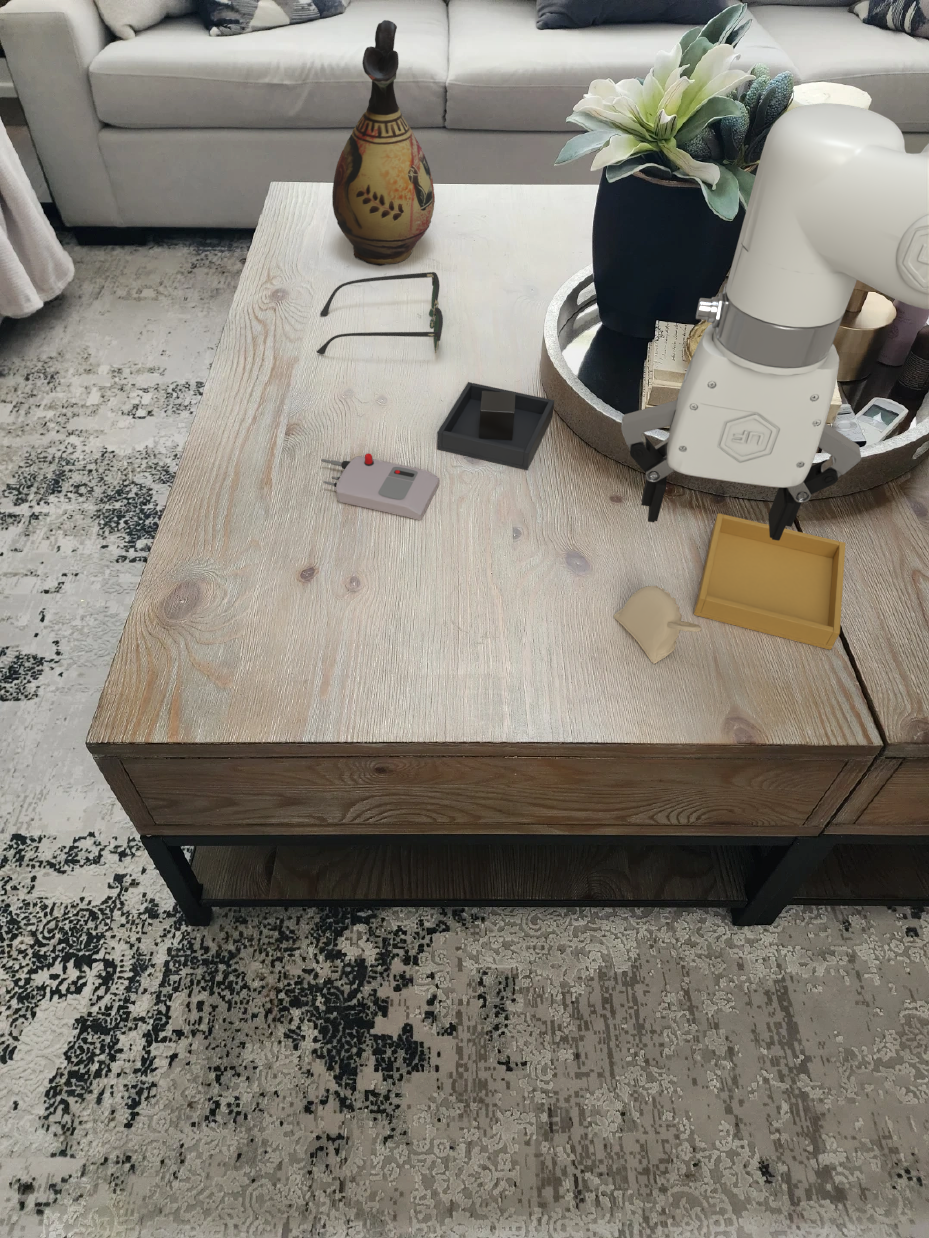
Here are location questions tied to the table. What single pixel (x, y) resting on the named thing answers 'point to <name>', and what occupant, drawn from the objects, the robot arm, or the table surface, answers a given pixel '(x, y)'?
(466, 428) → the charcoal tray
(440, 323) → the sunglasses
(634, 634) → the decorative ornament
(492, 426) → the black block
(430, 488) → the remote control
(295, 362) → the table surface
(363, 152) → the ceramic jug
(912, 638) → the table surface
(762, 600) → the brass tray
